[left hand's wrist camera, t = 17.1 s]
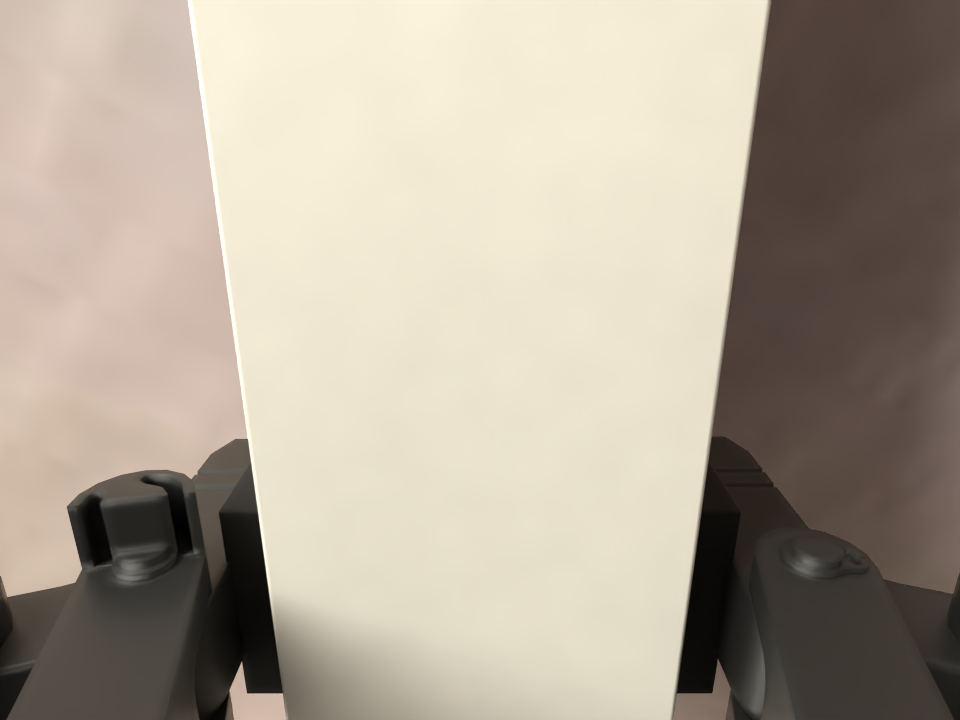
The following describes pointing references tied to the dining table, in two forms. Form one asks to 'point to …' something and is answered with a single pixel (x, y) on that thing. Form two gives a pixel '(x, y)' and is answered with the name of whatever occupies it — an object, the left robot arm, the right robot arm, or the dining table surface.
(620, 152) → the bar
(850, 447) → the dining table surface
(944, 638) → the left robot arm
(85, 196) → the dining table surface
